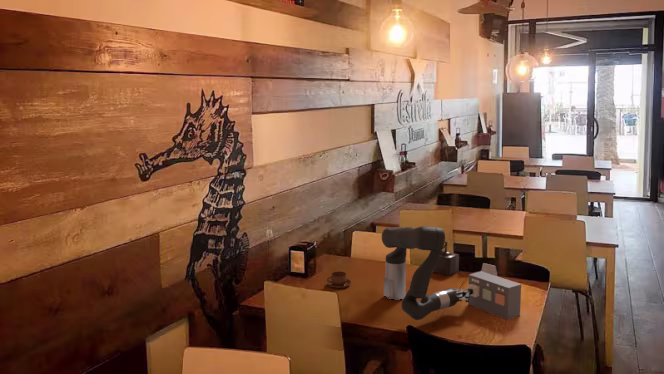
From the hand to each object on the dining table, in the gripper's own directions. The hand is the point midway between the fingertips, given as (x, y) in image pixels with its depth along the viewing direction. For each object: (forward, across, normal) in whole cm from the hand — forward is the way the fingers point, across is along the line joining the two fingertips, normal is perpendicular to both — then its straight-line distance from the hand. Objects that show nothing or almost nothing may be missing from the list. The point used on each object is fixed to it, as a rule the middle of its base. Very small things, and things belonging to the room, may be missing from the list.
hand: (471, 291), depth 262 cm
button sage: (+4, -7, +2) cm, 8 cm away
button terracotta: (+4, -14, +2) cm, 15 cm away
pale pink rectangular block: (+31, +17, +8) cm, 36 cm away
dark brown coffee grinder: (+25, +44, +8) cm, 51 cm away
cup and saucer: (-30, +60, +8) cm, 67 cm away
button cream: (+2, 0, +2) cm, 3 cm away
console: (+6, -7, +8) cm, 12 cm away
